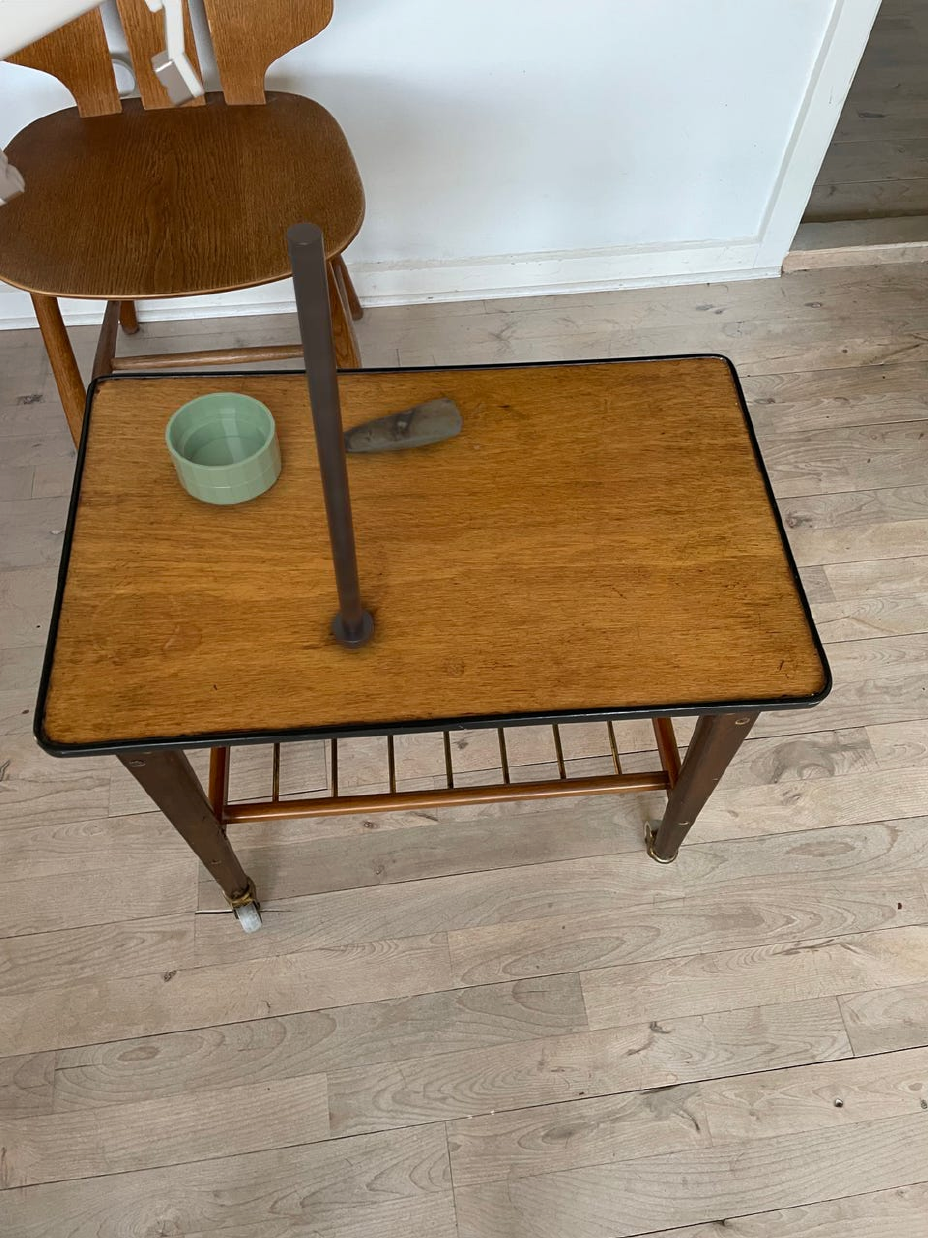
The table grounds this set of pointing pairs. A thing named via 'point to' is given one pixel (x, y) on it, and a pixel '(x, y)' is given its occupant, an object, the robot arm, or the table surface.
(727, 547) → the table surface
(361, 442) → the stone
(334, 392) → the stick
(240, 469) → the bowl
